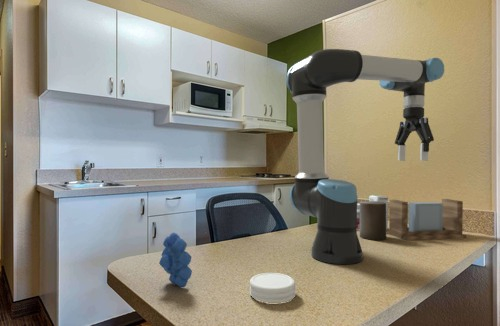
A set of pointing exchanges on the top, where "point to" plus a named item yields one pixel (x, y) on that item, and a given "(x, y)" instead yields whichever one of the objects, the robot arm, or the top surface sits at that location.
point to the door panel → (425, 216)
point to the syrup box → (381, 199)
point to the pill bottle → (358, 217)
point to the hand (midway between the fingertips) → (412, 160)
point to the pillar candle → (373, 220)
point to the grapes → (176, 260)
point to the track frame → (449, 230)
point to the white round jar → (272, 287)
